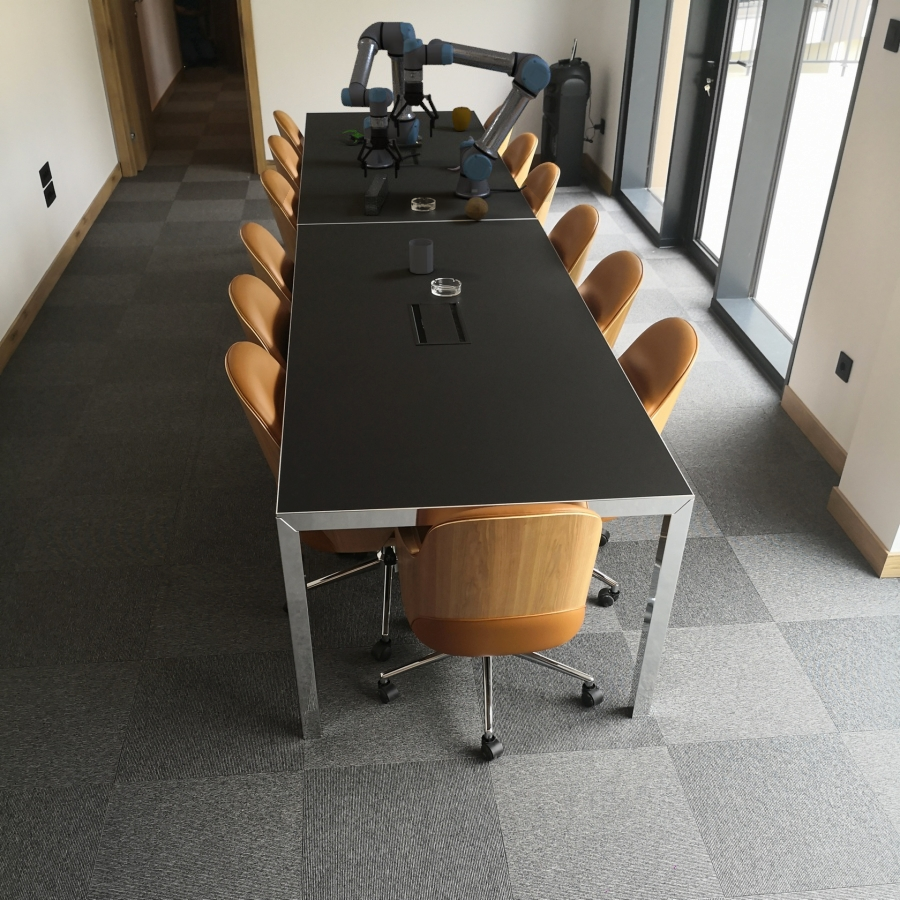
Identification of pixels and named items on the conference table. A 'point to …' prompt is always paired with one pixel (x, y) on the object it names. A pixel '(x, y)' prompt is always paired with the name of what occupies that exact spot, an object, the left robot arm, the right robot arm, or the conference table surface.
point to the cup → (421, 256)
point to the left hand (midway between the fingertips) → (381, 177)
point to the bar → (376, 194)
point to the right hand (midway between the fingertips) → (414, 136)
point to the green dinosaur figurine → (354, 137)
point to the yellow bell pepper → (461, 118)
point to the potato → (476, 208)
